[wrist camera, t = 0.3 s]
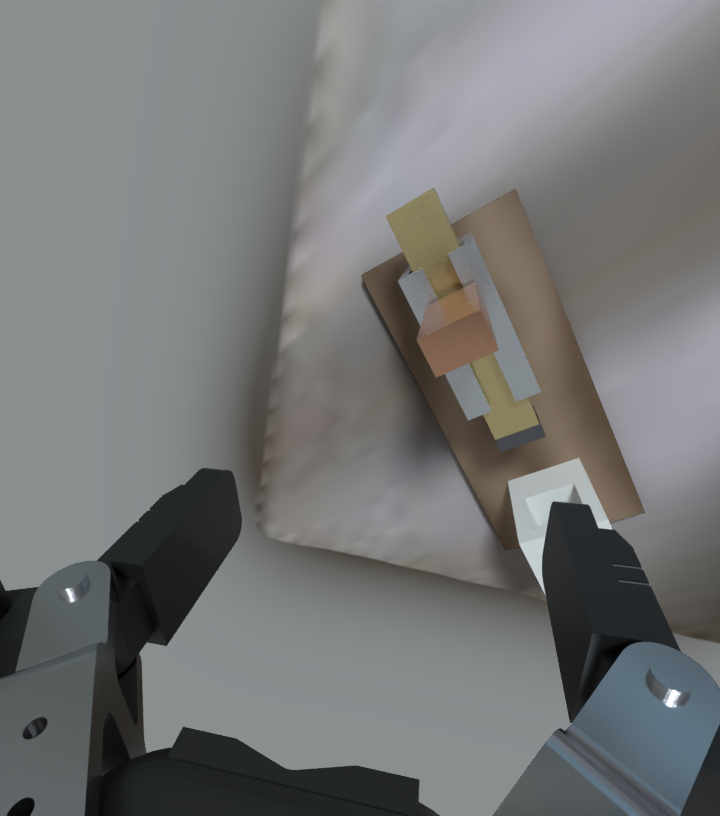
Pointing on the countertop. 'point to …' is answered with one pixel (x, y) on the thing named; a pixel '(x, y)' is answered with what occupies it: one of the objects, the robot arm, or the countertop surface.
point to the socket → (549, 505)
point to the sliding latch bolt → (459, 320)
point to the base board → (548, 358)
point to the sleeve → (510, 349)
